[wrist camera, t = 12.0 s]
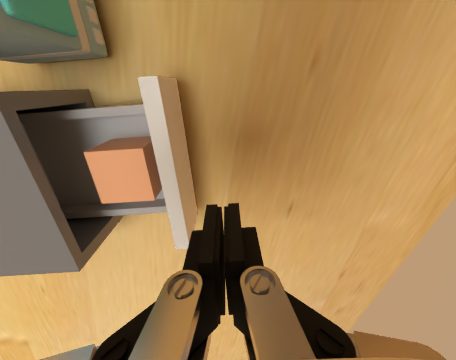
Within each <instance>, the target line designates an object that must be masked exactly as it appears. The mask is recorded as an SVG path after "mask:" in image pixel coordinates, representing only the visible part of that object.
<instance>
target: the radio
mask: <svg viewBox="0 0 456 360" xmlns="http://www.w3.org/2000/svg"><path fill="white" fill-rule="evenodd" d="M106 56H108V54H107V49H106V45H105V41H104V37H103V34H102V30H101V26H100V22H99V19H98V15H97V11H96V7H95V4H94V0H0V60H2V61H4V60H5V61H10V62H19V63H44V62H55V61H67V60H78V59H90V58H100V57H106Z"/></svg>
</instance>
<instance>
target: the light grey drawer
mask: <svg viewBox="0 0 456 360" xmlns="http://www.w3.org/2000/svg"><path fill="white" fill-rule="evenodd" d="M137 78H138V82H139V87H140V91H141V96H142V100H143V103H141V104H128V105H115V106H102V107H90V108H77V109H64V110H51V111H39V112H26V113H17V115H18V117H19V119H20V121H21V124H22V126H23V128H24V130H25V132H26V134H27V136H28V139H29V141H30V143H31V145H32V147H33V149H34V151H35V154H36V156H37V158H38V160H39V162H40V164H41V167H42V169H43V171H44V173H45V175H46V177H47V179H48V182H49V184H50V186H51V188H52V190H53V192H54V194H55V197H56V199H57V201H58V203H59V205H60V207H61V209H62V212H63V214H64V216H65V218H66V219H74V218H89V217H104V216H119V215H134V214H149V213H164V212H168V216H169V221H170V225H171V229H172V234H173V238H174V243H175V247H176V249H188V245H189V241H190V237H191V233H192V231H194V227H195V223H196V218H197V214H198V212H197V206H196V200H195V193H194V187H193V180H192V174H191V168H190V161H189V155H188V148H187V142H186V135H185V129H184V123H183V116H182V110H181V103H180V97H179V90H178V84H177V79H176V78H169V77H162V76H148V77H137ZM144 136H151V140H152V145H153V149H154V154H155V158H156V163H157V167H158V172H159V176H160V180H161V185H162V190H161V191H160V193H159V194H158V196H157V198H156V199H155V200H154V201H138V202H122V203H106V204H102V202H101V200H100V197H99V194H98V191H97V189H96V186H95V183H94V180H93V177H92V175H91V172H90V169H89V166H88V164H87V161H86V158H85V155H84V153H83V152H85V151H87V150H89V149H92V148H94V147H96V146H98V145H100V144H102V143H104V142H107V141H109V140H111V139H115V138H130V137H144Z"/></svg>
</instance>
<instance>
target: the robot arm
mask: <svg viewBox="0 0 456 360" xmlns="http://www.w3.org/2000/svg"><path fill="white" fill-rule="evenodd" d="M225 279H226V290H227V300H228V310H229V315H233V318H234V325H235V326H236V327H237V328H238V329H239V330H240V331H241V332H242V333H243V335H244V342H245V347H246V352H247V356H248V360H446V359H445V358H444V357H443V356H441V354H439V353H438V352H437V351H435V350H433V349H432V348H430V347H428V346H426V345H423V344H420V343H417V342H411V341H406V340H400V339H395V338H390V337H384V336H379V335H374V334H368V333H363V332H357V331H354V332H353V334H350V333H345V331H343V330H342V329H341V328H340V327H339V326H337V325H336V324H334V323H333V322H331V321H330V320H328V319H327V318H325V317H324V316H322V315H321V314H319V313H318V312H316V311H315V310H313V309H312V308H310V307H309V306H307V305H306V304H304V303H303V302H301V301H300V300H298V299H297V298H295V297H294V296H292V295H291V294H289V293H287V292H286V291H285V290H284V288H283V286H282V284H281V282H280V279H279V277H278V276H277V274H276V273H275V272H274V271H273V270H271V269H269V268H267V267H264V265H263V260H262V256H261V251H260V246H259V241H258V237H257V232H256V228H255V227H247V228H241V221H240V212H239V203H231V204H228V206H227V207H224V230H223V219H222V208H221V207H218V206H217V204H215V205H207V206H206V212H205V218H204V224H203V230H197V231H192V233H191V237H190V241H189V245H188V250H187V254H186V258H185V262H184V267H183V270H182V271H179V272H176V273H175V274H173V275H172V276H170V277H169V278H168V279H167V281H166V282H165V284H164V286H163V288H162V290H161V292H160V294H159V296H158V298H157V300H156V302H154V303H153V304H152V305H150V306H149V307H148V308H147V309H145V310H144V311H143V312H141V313H140V314H139V315H137V316H136V317H135V318H133V319H132V320H131V321H130V322H128V323H127V324H126V325H124V326H123V327H122V328H120V329H119V330H118V331H116V332H115V333H114V334H112V335H111V336H110V337H109V338H107V339H106V340H105V341H104V342H103V343H102V344H101V345H100V346H97V347H96V346H95V344H92V345H89V346H85V347H82V348H78V349H75V350H72V351H68V352H65V353H61V354H58V355H54V356H51V357H47V358H44V359H41V360H207V356H208V351H209V346H210V341H211V333H212V332H213V331H214V330H215V329H216V328H217V326H218V324H220V315H225Z"/></svg>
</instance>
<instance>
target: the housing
mask: <svg viewBox="0 0 456 360" xmlns="http://www.w3.org/2000/svg"><path fill="white" fill-rule="evenodd" d="M90 107H94V105H93V102H92V99H91V96H90V92H89V89H88V90H50V91H13V92H0V276H13V275H30V274H46V273H62V272H78V271H80V270H81V269H82V268H83V267H84V265H85V264H86V263H87V261H88V260H89V259H90V258H91V256H92V255H93V254H94V253H95V251H96V250H97V249H98V248H99V246H100V245H101V244H102V242H103V241H104V240H105V239H106V237H107V236H108V235H109V234H110V232H111V231H112V230H113V228H114V227H115V226H116V225H117V223H118V222H119V221H120V220H121V218H122V217H123V216H124V215H119V216H104V217H89V218H74V219H66V218H65V216H64V214H63V212H62V209H61V207H60V205H59V203H58V201H57V199H56V197H55V194H54V192H53V190H52V188H51V186H50V184H49V182H48V179H47V177H46V175H45V173H44V171H43V169H42V167H41V164H40V162H39V160H38V158H37V156H36V154H35V151H34V149H33V147H32V145H31V143H30V141H29V139H28V136H27V134H26V132H25V130H24V128H23V126H22V124H21V121H20V119H19V117H18V115H17V113H26V112H39V111H51V110H64V109H77V108H90Z"/></svg>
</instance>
